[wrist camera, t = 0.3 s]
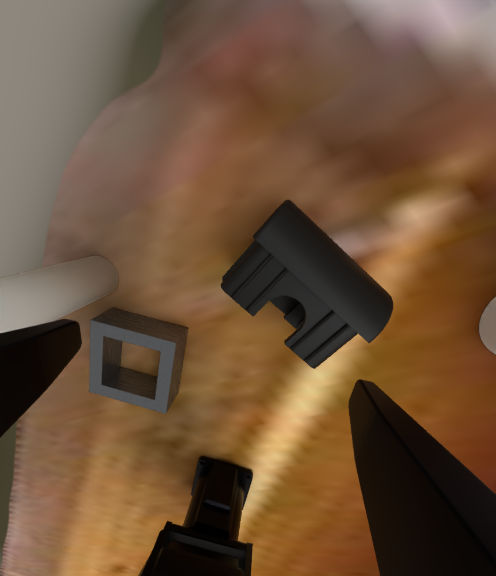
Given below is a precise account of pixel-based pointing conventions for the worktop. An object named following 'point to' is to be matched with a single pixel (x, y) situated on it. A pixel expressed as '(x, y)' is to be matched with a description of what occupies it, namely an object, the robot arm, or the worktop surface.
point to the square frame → (129, 383)
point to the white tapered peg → (54, 291)
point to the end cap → (308, 285)
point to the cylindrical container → (489, 326)
